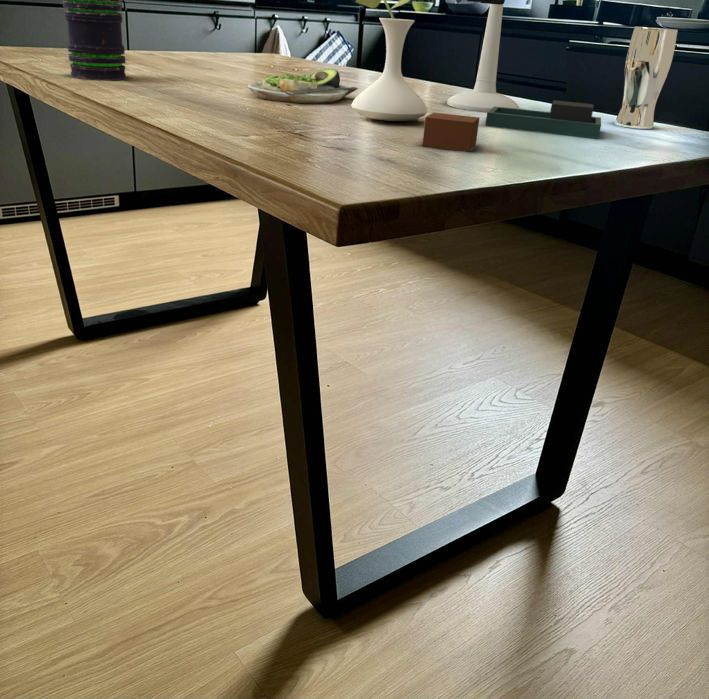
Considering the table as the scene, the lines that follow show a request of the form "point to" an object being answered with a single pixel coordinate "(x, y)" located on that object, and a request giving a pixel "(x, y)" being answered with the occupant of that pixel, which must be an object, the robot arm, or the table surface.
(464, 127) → the pad
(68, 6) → the storage jar
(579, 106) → the pad
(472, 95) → the candlestick
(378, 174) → the table surface
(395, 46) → the flower in vase
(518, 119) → the frame
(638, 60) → the beer glass
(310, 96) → the salad plate
